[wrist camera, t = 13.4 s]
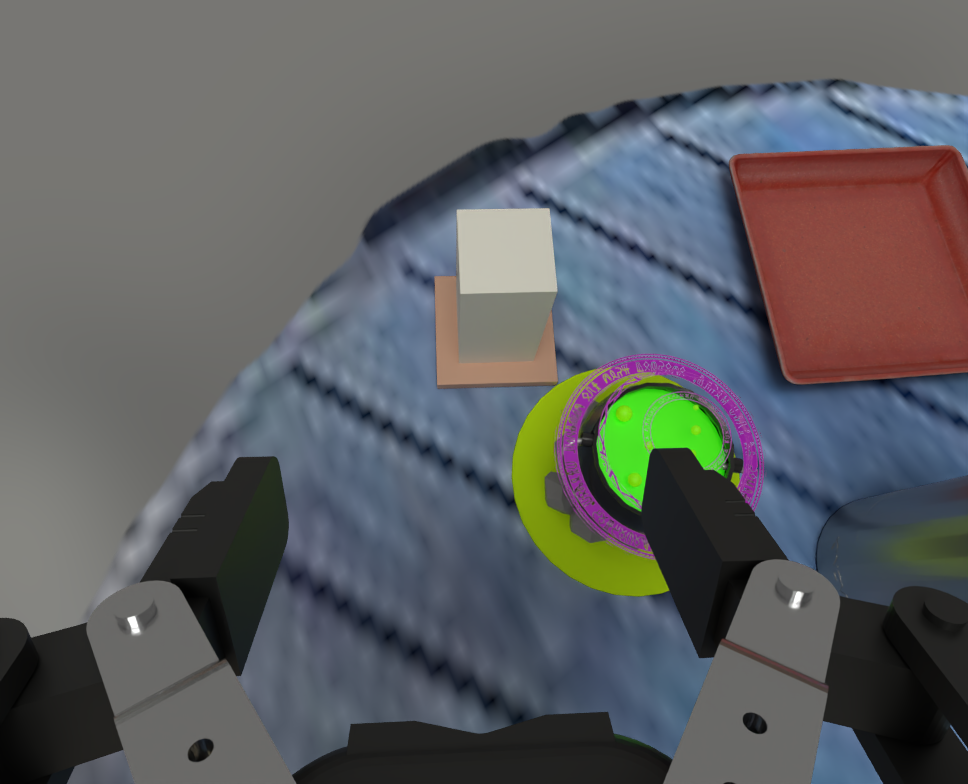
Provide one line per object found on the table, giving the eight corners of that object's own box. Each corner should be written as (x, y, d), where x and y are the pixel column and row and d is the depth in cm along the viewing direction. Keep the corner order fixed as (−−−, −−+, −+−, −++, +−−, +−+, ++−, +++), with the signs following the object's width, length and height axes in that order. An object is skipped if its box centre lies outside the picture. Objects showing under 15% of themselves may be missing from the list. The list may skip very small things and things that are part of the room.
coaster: (546, 279, 44) (548, 274, 43) (555, 385, 41) (557, 381, 40) (435, 281, 43) (434, 276, 42) (437, 388, 41) (437, 385, 40)
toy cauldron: (494, 573, 37) (509, 567, 27) (528, 350, 42) (553, 271, 32) (735, 616, 37) (844, 626, 27) (742, 388, 42) (838, 320, 32)
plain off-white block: (527, 292, 42) (549, 206, 33) (533, 361, 41) (557, 291, 31) (456, 293, 42) (456, 207, 33) (458, 363, 41) (460, 294, 31)
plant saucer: (709, 180, 48) (728, 151, 44) (927, 170, 49) (960, 141, 46) (762, 400, 42) (787, 385, 39) (1006, 383, 43) (1049, 366, 40)
